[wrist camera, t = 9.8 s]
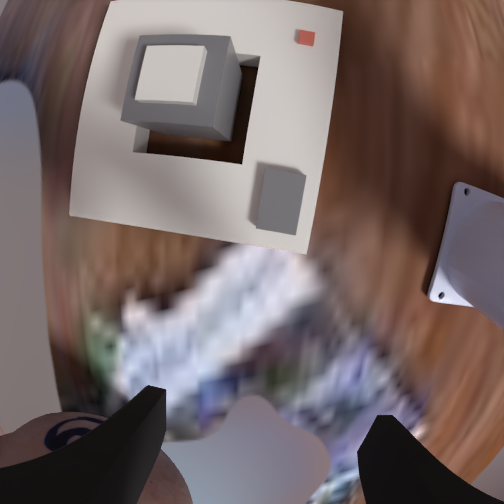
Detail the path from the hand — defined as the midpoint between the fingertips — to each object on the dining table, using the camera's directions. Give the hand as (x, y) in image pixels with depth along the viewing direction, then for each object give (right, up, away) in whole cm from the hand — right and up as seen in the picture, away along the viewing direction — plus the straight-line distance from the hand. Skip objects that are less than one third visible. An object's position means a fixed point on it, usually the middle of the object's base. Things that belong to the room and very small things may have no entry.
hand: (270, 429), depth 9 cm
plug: (-3, +14, +7) cm, 16 cm away
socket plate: (-3, +14, +7) cm, 16 cm away
